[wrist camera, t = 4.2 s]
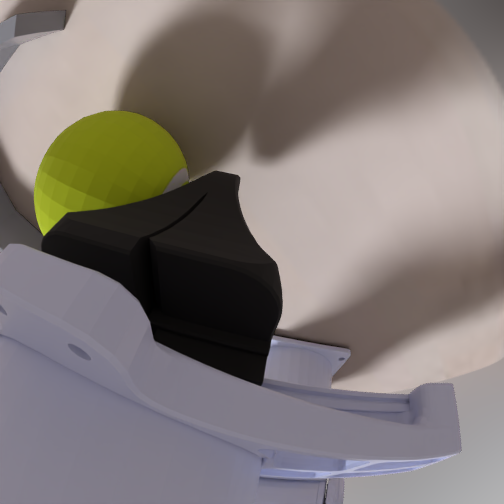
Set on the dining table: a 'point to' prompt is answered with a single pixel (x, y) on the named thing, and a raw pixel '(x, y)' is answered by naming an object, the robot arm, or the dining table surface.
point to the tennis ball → (106, 166)
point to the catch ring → (3, 46)
